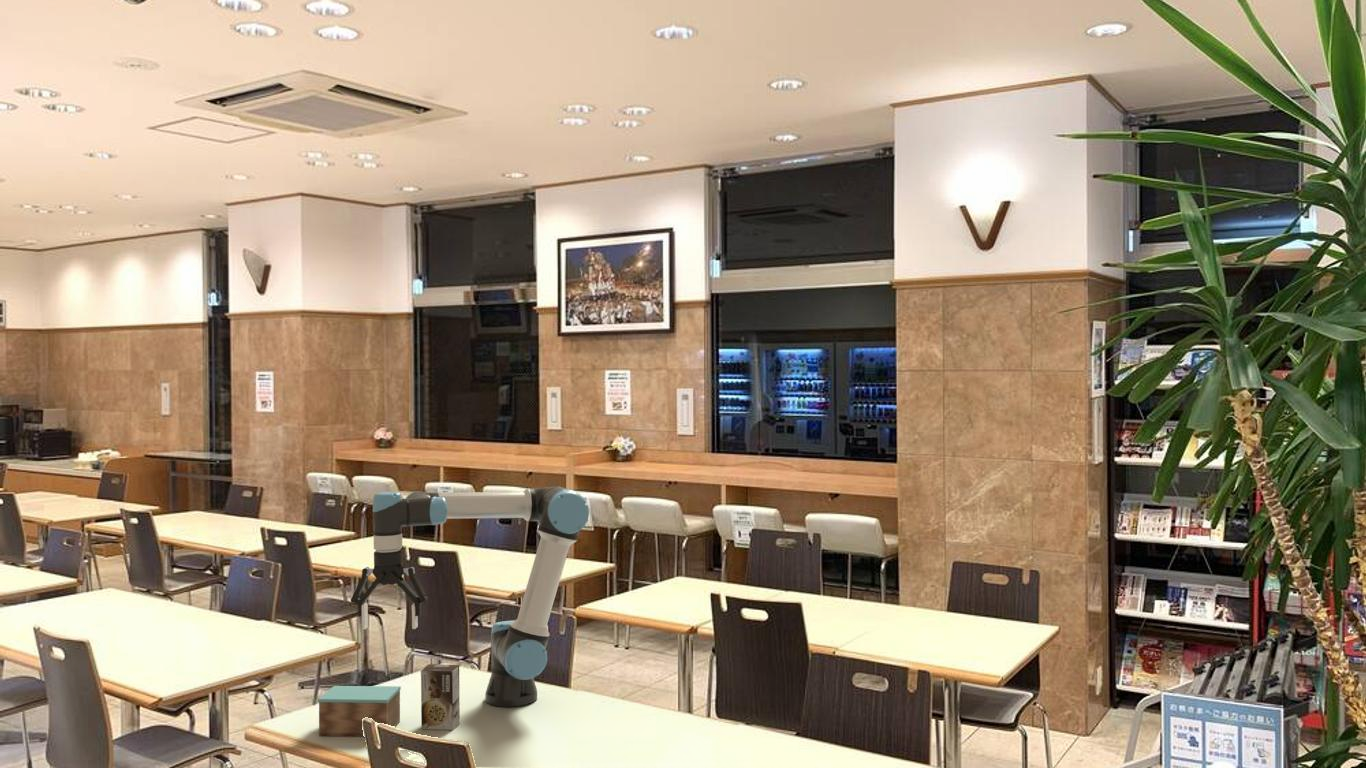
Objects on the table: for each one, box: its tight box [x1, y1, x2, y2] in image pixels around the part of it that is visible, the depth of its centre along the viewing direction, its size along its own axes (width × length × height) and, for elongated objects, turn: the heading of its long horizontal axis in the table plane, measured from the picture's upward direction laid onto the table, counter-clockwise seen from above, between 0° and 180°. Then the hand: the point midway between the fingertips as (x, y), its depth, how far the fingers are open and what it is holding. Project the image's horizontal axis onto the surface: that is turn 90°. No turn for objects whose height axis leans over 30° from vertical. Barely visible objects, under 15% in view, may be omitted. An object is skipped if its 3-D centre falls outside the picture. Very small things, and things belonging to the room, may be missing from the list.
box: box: [318, 690, 401, 738], centre depth 283 cm, size 18×12×9 cm, turn 89°
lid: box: [317, 685, 401, 703], centre depth 283 cm, size 18×12×1 cm
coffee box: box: [420, 663, 461, 731], centre depth 286 cm, size 9×6×16 cm
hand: (390, 628), depth 283 cm, fingers open, 13 cm apart
